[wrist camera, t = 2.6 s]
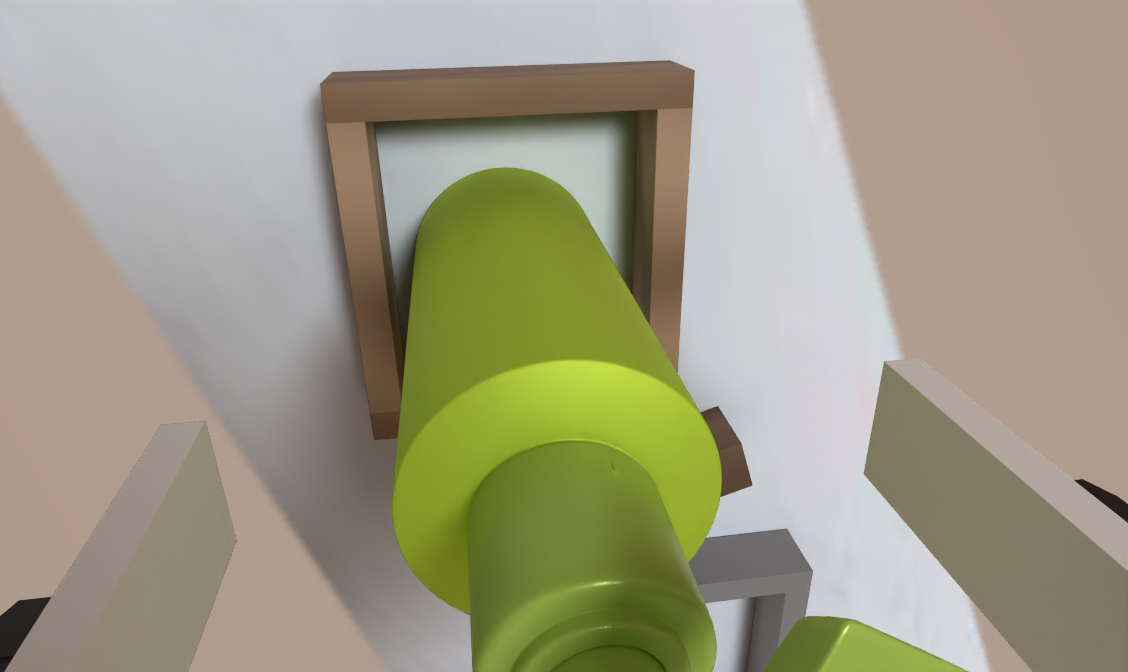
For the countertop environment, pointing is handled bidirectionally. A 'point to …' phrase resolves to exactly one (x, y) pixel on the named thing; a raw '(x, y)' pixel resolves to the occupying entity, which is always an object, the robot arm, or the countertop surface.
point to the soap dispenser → (564, 454)
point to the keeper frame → (757, 584)
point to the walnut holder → (505, 92)
